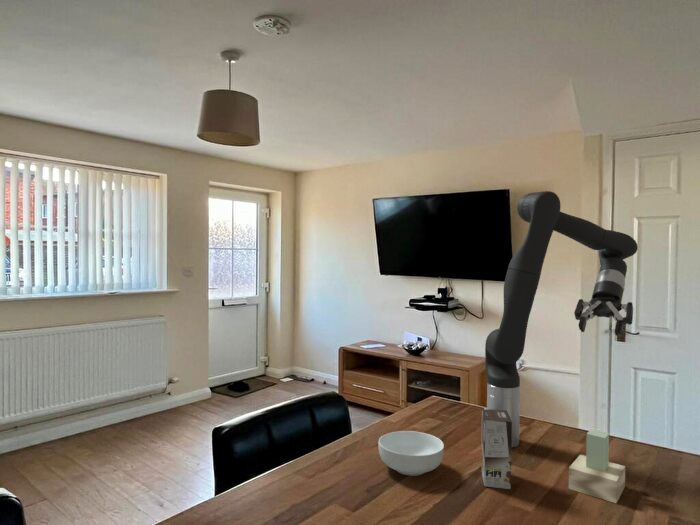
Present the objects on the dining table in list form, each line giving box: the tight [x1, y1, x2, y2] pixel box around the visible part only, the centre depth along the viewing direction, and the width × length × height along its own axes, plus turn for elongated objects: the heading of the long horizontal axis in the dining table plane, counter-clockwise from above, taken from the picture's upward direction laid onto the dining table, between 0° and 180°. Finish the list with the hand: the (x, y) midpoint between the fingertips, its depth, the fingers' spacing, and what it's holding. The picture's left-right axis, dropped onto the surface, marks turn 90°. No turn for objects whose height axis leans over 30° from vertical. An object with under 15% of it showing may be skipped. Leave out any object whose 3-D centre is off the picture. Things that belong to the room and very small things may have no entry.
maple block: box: [568, 454, 626, 504], centre depth 111 cm, size 10×10×5 cm
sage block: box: [585, 428, 610, 472], centre depth 111 cm, size 4×4×8 cm
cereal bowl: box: [377, 430, 445, 477], centre depth 120 cm, size 17×17×7 cm
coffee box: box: [480, 408, 513, 490], centre depth 114 cm, size 9×6×16 cm
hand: (599, 332), depth 127 cm, fingers open, 8 cm apart
